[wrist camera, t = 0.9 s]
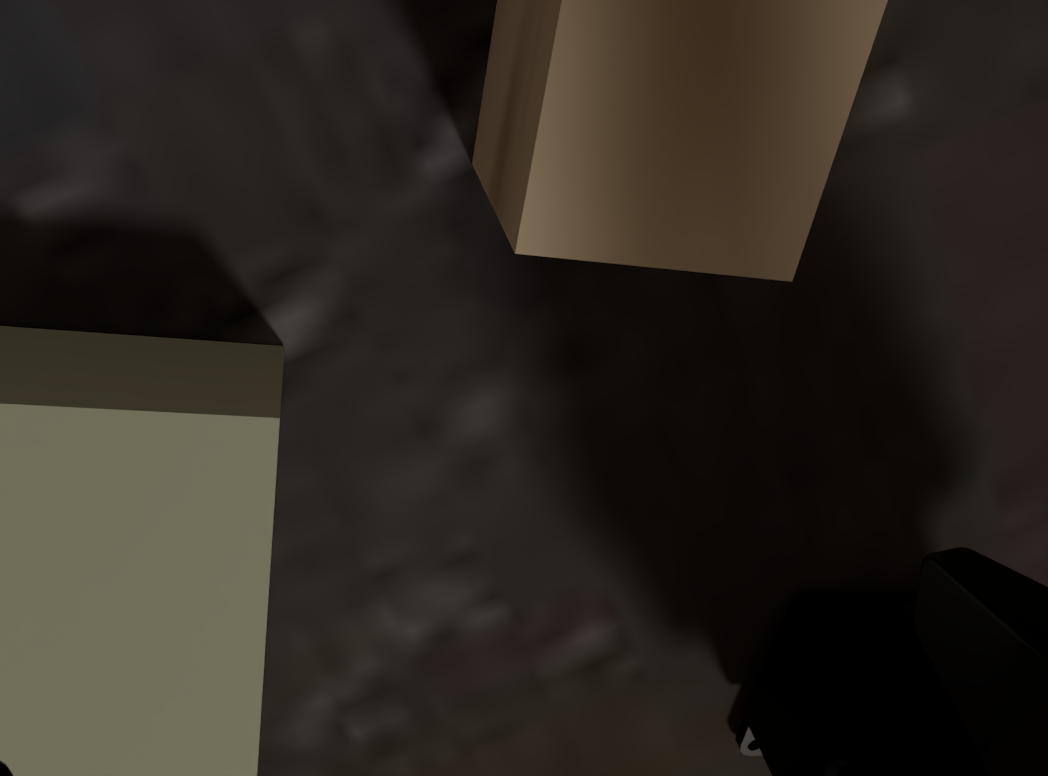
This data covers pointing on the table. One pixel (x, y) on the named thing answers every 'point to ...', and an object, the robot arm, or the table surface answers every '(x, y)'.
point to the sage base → (134, 551)
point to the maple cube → (668, 127)
